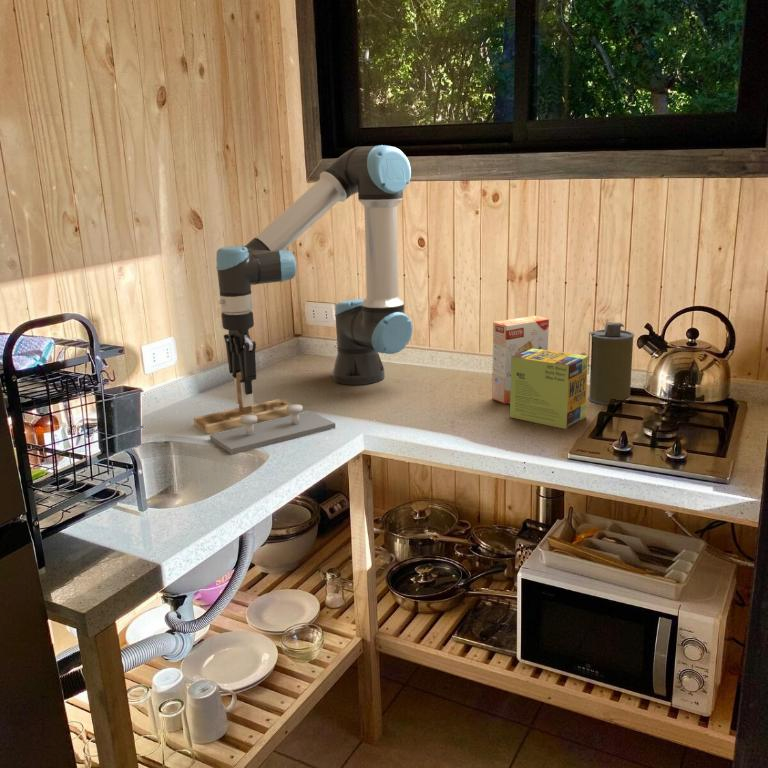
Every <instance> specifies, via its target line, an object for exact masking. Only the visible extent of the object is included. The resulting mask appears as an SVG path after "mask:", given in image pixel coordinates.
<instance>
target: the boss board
mask: <svg viewBox="0 0 768 768" xmlns="http://www.w3.org/2000/svg"><path fill="white" fill-rule="evenodd" d="M303 408H304V407H303V405H302V404H293V405H289V406H287V412H288V413H291V415H289V416H285V417H281V418H276V419H272V420H268V421H264V422H259V423H256V422H257V416H256V415H245V416H242V417H241V423H242V424H245V425H246V426H242V427H238V428H234V429H230V430H225V431H221V432H217V433H213V434H209V440H210V441H212V442H213V443H214V444H216V445H218V446H219V447H220V448H222V449H224V450H225V451H226V452H228V453H229V454H231V455H234V454H238V453H243V452H245V451H251V450H254V449H258V448H261V447H265V446H269V445H273V444H278V443H282V442H285V441H289V440H294V439H297V438H300V437H306V436H310V435H312V434H317V433H320V432H325V431H329V430H332V429H331V428H333V429H336V428H335V427H336V423H335V422H333V421H332V420H330V419H328V418H326V417H323V416H322V415H320V414H317V413H316V412H314V411H311V410H310V411H306V412H303V411H304V410H303ZM253 423H255V424H253ZM328 429H329V430H328ZM324 430H325V431H324Z"/></svg>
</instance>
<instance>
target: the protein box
mask: <svg viewBox="0 0 768 768" xmlns="http://www.w3.org/2000/svg"><path fill="white" fill-rule="evenodd" d="M587 382H588V355H586V354H585V355H584V354H577V353H571V352H570V353H569V352H564V351H563V352H562V351H554V350H541V349H530V350H527V351H525V352H522V353H520V354H517V355H515V356H512V357H511V392H510V403H509V404H510V405H509V409H510V410H509V417H510V418H512V419H517V420H521V421H527V422H532V423H536V424H540V425H546V426H550V427H555V428H560V429H565V430H566V429H568V428H570V427H572V426H573V425H575V424H576V423H578V422H579V421H582V420H583V419H585V418H586V416H587V415H586V414H587V413H586V412H587V410H586V409H587V387H588V385H587Z"/></svg>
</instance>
